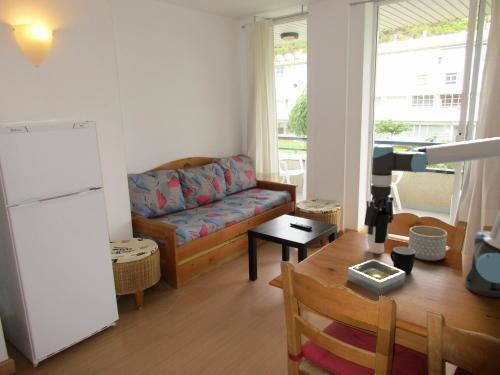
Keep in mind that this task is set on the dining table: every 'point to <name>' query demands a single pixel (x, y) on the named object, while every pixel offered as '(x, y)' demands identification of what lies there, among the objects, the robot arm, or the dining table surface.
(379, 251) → the water bottle
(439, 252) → the planter
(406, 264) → the mug
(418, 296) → the dining table surface
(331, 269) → the dining table surface
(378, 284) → the grey square tray
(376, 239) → the cup
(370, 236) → the robot arm
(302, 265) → the dining table surface
